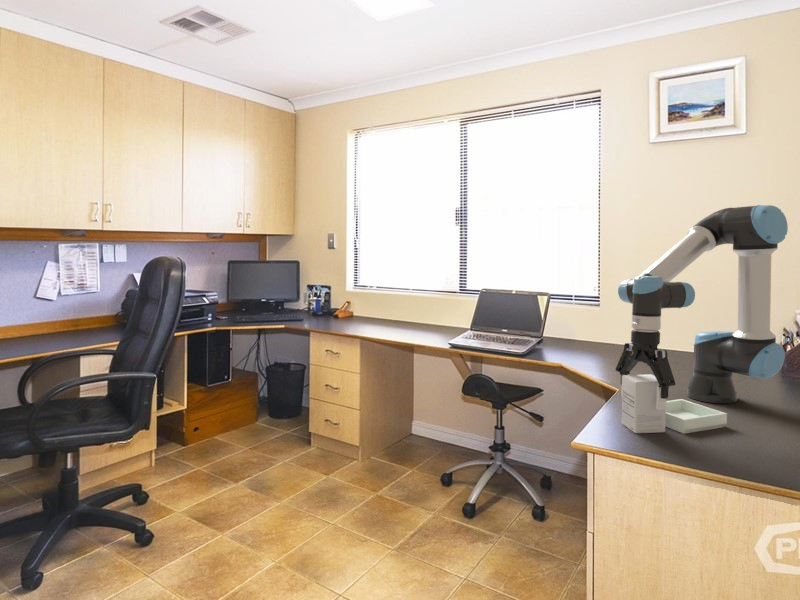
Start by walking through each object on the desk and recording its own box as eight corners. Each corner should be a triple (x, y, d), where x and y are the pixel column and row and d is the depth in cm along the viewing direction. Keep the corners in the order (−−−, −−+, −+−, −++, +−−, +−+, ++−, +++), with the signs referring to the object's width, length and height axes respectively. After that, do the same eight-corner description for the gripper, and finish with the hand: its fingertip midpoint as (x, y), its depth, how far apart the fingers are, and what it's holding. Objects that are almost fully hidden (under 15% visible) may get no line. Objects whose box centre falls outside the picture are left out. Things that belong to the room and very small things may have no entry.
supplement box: (650, 422, 160) (651, 373, 158) (666, 432, 151) (667, 381, 149) (620, 423, 159) (621, 374, 158) (634, 433, 150) (636, 381, 149)
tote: (681, 411, 170) (681, 398, 170) (726, 426, 155) (727, 413, 155) (641, 416, 165) (641, 404, 165) (683, 433, 150) (684, 419, 149)
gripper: (605, 324, 163) (602, 392, 165) (670, 337, 139) (666, 416, 141) (624, 323, 165) (622, 390, 167) (692, 335, 142) (688, 413, 144)
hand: (642, 402), depth 154 cm, fingers open, 13 cm apart
